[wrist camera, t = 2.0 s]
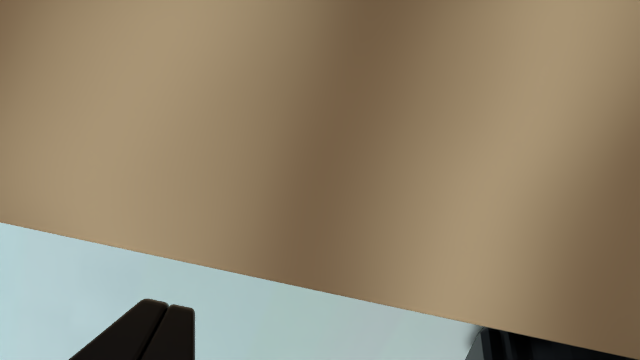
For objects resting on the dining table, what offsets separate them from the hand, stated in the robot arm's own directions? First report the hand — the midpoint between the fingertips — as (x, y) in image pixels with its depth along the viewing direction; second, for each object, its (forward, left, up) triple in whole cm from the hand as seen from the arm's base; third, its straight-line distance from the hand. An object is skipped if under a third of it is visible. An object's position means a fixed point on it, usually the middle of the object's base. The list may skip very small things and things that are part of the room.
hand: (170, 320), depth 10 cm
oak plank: (-3, -2, -6) cm, 7 cm away
